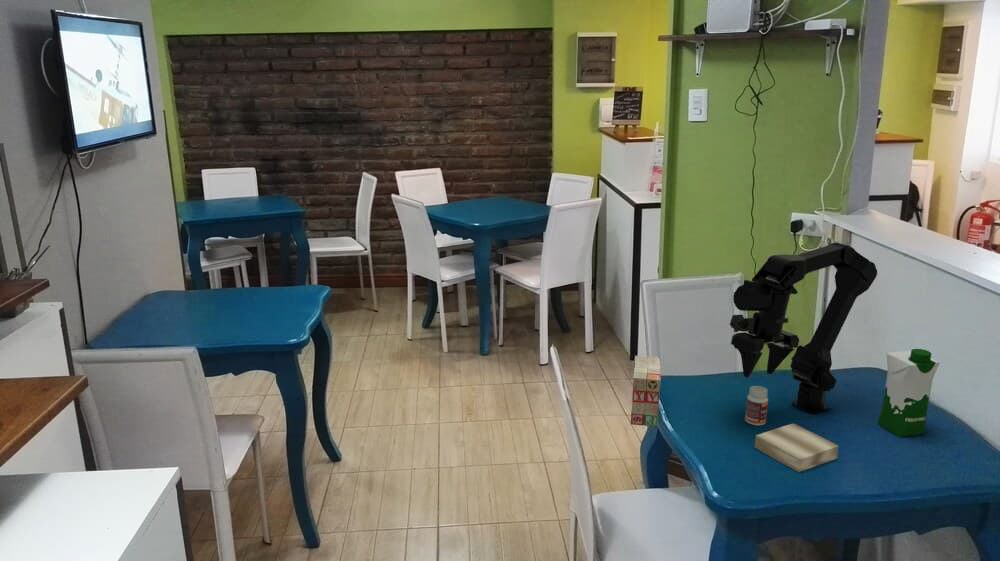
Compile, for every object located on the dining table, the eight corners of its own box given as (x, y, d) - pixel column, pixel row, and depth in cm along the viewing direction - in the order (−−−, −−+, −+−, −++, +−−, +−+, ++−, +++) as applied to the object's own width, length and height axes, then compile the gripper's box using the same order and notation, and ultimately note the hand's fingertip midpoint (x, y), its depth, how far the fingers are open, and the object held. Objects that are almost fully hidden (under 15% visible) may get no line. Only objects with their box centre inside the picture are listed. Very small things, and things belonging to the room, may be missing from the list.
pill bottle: (763, 427, 175) (766, 395, 173) (742, 422, 178) (745, 390, 176) (768, 420, 179) (771, 387, 177) (747, 415, 182) (751, 383, 179)
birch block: (791, 435, 172) (793, 423, 171) (837, 458, 162) (838, 445, 161) (754, 447, 166) (755, 435, 166) (798, 472, 156) (800, 459, 155)
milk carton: (898, 439, 170) (912, 357, 164) (870, 421, 178) (883, 343, 173) (931, 435, 172) (946, 354, 166) (902, 418, 180) (915, 340, 175)
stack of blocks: (633, 388, 197) (635, 344, 194) (657, 390, 196) (660, 346, 192) (630, 425, 177) (633, 377, 173) (657, 427, 176) (660, 379, 172)
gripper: (765, 300, 183) (751, 360, 187) (718, 302, 172) (704, 366, 175) (807, 313, 175) (791, 376, 178) (760, 316, 163) (745, 383, 167)
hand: (757, 375), depth 175 cm, fingers open, 9 cm apart
